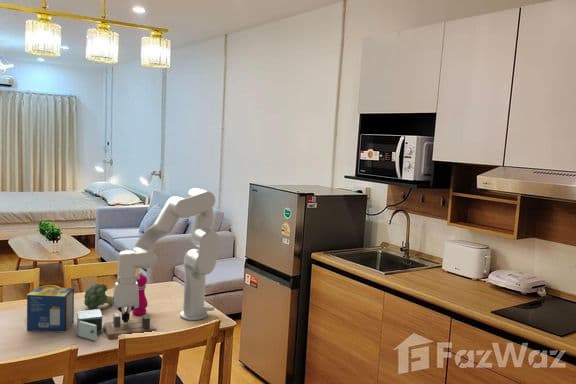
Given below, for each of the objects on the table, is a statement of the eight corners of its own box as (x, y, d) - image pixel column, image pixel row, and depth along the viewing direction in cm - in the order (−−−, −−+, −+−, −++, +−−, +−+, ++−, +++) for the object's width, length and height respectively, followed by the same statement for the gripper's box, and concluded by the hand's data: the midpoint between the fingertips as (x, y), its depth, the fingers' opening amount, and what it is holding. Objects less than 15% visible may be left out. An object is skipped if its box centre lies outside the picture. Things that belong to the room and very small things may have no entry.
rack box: (99, 324, 205) (100, 309, 205) (102, 332, 197) (102, 316, 197) (77, 327, 201) (77, 311, 201) (78, 335, 193) (78, 319, 193)
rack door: (96, 339, 190) (96, 324, 189) (92, 341, 188) (93, 326, 187) (78, 334, 193) (78, 319, 193) (74, 336, 192) (74, 321, 191)
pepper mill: (141, 309, 226) (142, 268, 224) (150, 313, 221) (151, 272, 219) (128, 313, 220) (129, 271, 218) (136, 317, 216) (138, 275, 214)
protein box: (37, 321, 205) (37, 286, 203) (74, 322, 206) (74, 288, 204) (25, 331, 194) (26, 294, 193) (64, 332, 196) (65, 296, 194)
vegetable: (121, 305, 224) (92, 296, 214) (105, 319, 228) (76, 311, 218) (121, 284, 232) (93, 275, 222) (105, 298, 236) (78, 290, 227)
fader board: (149, 321, 212) (150, 307, 211) (155, 333, 200) (156, 318, 200) (104, 327, 203) (104, 312, 202) (107, 339, 192) (108, 323, 191)
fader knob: (119, 323, 203) (119, 312, 203) (120, 326, 200) (120, 316, 199) (113, 323, 202) (113, 313, 202) (114, 327, 199) (114, 316, 198)
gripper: (143, 276, 207) (141, 316, 209) (107, 278, 200) (105, 320, 202) (146, 281, 201) (145, 322, 202) (109, 283, 194) (107, 327, 196)
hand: (125, 321), depth 202 cm, fingers closed
